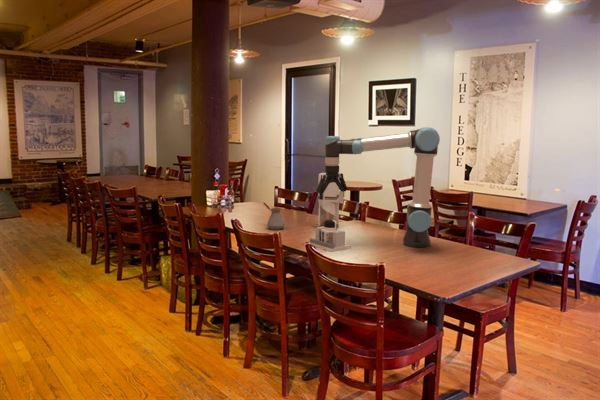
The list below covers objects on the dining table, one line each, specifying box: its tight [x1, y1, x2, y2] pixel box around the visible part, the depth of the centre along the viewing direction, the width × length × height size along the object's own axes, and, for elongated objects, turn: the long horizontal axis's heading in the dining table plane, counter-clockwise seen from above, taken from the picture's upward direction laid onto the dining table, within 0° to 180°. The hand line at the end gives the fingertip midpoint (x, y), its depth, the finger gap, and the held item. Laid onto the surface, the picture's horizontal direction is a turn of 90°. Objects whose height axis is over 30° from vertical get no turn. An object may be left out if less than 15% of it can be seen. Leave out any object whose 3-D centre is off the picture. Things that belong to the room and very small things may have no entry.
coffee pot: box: [262, 202, 286, 231], centre depth 336 cm, size 21×12×15 cm, turn 34°
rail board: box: [308, 226, 352, 253], centre depth 285 cm, size 19×14×10 cm
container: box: [321, 220, 339, 244], centre depth 285 cm, size 8×8×13 cm
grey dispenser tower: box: [317, 172, 340, 230], centre depth 333 cm, size 11×11×35 cm
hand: (332, 204), depth 284 cm, fingers open, 13 cm apart
